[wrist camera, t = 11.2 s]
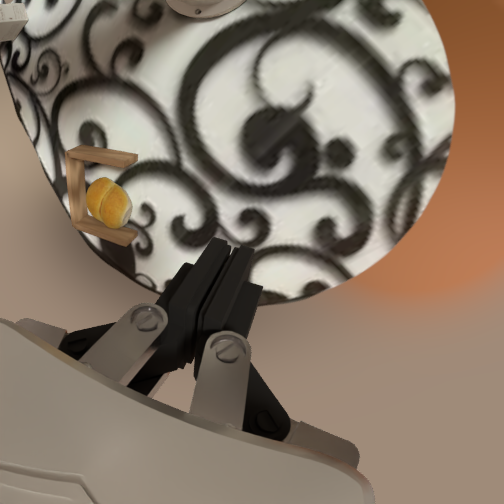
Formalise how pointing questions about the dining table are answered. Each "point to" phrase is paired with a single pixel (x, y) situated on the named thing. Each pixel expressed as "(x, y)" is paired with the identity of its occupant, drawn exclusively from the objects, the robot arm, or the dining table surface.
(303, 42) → the dining table surface
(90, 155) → the bay
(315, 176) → the dining table surface
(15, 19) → the product box
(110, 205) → the bread roll
